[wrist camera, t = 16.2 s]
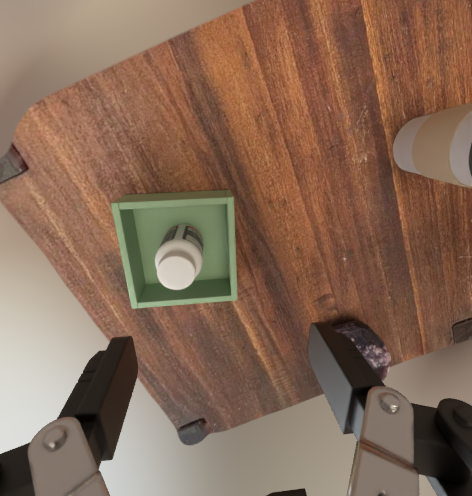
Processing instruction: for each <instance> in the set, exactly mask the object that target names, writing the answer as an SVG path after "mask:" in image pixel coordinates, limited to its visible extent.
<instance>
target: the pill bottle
mask: <svg viewBox="0 0 472 496" xmlns="http://www.w3.org/2000/svg"><path fill="white" fill-rule="evenodd" d="M155 265H156V269H157V276H158V279H159V281H160V282H161V283H162V284H163V285H164V286H165V287H167V288H169V289H173V290H180V289H184V288H186V287H188V286H189V285H190V284H191V283H192V282H193V280H194V278H195V277H196V276H197V275H198V274H199V272H200V271H201V268H202V265H203V238H202V235H201V233H200V232H199V231H198V230H197V229H196V228H195V227H193V226H191V225H187V224H179V225H175V226H173V227H172V228H170V229H169V230H168V231H167V233H166V234H165V236H164V238H163V240H162V243H161V245H160V247H159V249H158V251H157V253H156V257H155Z"/></svg>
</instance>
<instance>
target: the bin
mask: <svg viewBox="0 0 472 496" xmlns="http://www.w3.org/2000/svg"><path fill="white" fill-rule="evenodd" d="M111 207H112V212H113V217H114V222H115V227H116V232H117V237H118V242H119V247H120V252H121V257H122V262H123V267H124V272H125V277H126V281H127V286H128V291H129V296H130V301H131V306H132V308H145V307H158V306H170V305H183V304H196V303H208V302H221V301H231V300H232V301H234V300H238V299H237V270H236V242H235V213H234V197H233V194H232V192H231V190H212V191H191V192H170V193H148V194H127V195H124V196H122V197H121V198H119V199H117V200H116V201H114V202H112V203H111ZM179 224H187V225H191V226H193V227H195V228H196V229H197V230H198V231H199V232H200V233H201V235H202V238H203V265H202V268H201V271H200V272H199V274H198V275H197V276H196V277H195V278H194V280H193V282H192V283H191V284H190V285H189V286H188V287H186V288H184V289H180V290H173V289H169V288H167V287H165V286H164V285H163V284H162V283H161V282H160V281H159V279H158V276H157V269H156V265H155V257H156V253H157V251H158V249H159V247H160V245H161V243H162V240H163V238H164V236H165V234H166V233H167V231H168V230H169V229H170V228H172V227H173V226H175V225H179Z"/></svg>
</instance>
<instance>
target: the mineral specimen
mask: <svg viewBox="0 0 472 496" xmlns="http://www.w3.org/2000/svg"><path fill="white" fill-rule="evenodd" d="M333 329H334V330H335V332H336V333H337V332H342V333H343V334H344V335H346V336H347V337H349V338H350V339H351V340H352V341H353V343H354V344H355V345H356V347H357V348H358V350H359V351H360V352H361V353H362V355H363V357H364V358H365V359H366V360H367V362H368V363H369V364H370V366H371V367H372V368H373V370H374V371H375V372H376V374H377V375H378V377H379V378H380V379H381V381H382V382H383V381H384V379H385V377H386V375H387V374H388V372H389V370H390V362H391V356H390V353H389V352H388V351H387V349H386V347H385V344H384V342H383V341H382V340H381V338H380V337H379V336H378V335H377V334H376V333H375V332H374V331H373V330H372V329H371V328H370V327H369V326H368V325H366V324H364V323H362V322H359V321H351V322H347V323H344V324H340V325H337V326H333Z"/></svg>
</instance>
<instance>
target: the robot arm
mask: <svg viewBox="0 0 472 496" xmlns="http://www.w3.org/2000/svg"><path fill="white" fill-rule="evenodd" d="M308 358H309V361H310V364H311V366H312V368H313V371H314V373H315V375H316V377H317V379H318V381H319V383H320V385H321V388H322V390H323V392H324V394H325V396H326V398H327V400H328V403H329V405H330V407H331V409H332V411H333V413H334V415H335V418H336V420H337V422H338V424H339V426H340V428H341V430H342V432H343V434H349V433H354V435H355V437H356V439H357V444H356V449H355V454H354V459H353V465H352V470H351V475H350V481H349V486H348V491H347V496H419V474H421V475H425V476H426V477H427V479H428V481H429V482H430V484H431V486H432V487H433V489H434V491H435V492H436V494H437V496H472V406H471V405H469V404H467V403H465V402H463V401H460V400H457V399H451V398H448V399H443V400H441V401H440V402H439V405H438V407H437V408H433V407H428V406H422V405H417V404H413V403H410V402H409V401H408V400H407V399H406V397H404V396H403V395H402V394H401V393H399V392H398V391H396V390H394V389H392V388H389V387H386V386H385V385H384V383H383V382H382V381H381V379H380V378H379V377H378V375H377V374H376V372H375V371H374V370H373V368H372V367H371V366H370V364H369V363H368V362H367V360H366V359H365V358H364V357H363V355H362V353H361V352H360V351H359V350H358V348H357V347H356V345H355V344H354V343H353V341H352V340H351V339H350V338H349V337H347V336H346V335H344V334H343V333H342V332H337V333H336V332H335V330H334V329H333V327H332V326H331V324H330V323H329V322H317V323H311V325H310V332H309V342H308ZM137 374H138V363H137V357H136V352H135V347H134V342H133V338H132V336H126V337H113V338H112V339H111V341H110V343H109V345H108V348H107V349H106V350H105V351H99V352H98V353H97V354H95V355H94V356H93V357H92V358H91V359H90V360H89V362H88V363H87V365H86V367H85V369H84V371H83V374H81V376H80V378H79V380H78V383H77V384H76V385H75V387H74V389H73V391H72V393H71V395H70V396H69V398H68V400H67V402H66V404H65V406H64V408H63V409H62V411H61V413H60V415H59V417H58V418H57V420H54V421H53V422H51V423H49V424H47V425H46V426H45V427H43V428H42V429H41V430H40V431H39V432H38V433H37V434H36V435H35V436H34V438H33V439H32V441H31V442H30V443H28V444H25V445H23V446H20V447H18V448H15V449H12V450H10V451H7V452H4V453H2V454H0V496H110V494H109V492H108V489H107V487H106V484H105V482H104V480H103V477H102V475H101V472H100V471H99V470H98V469H99V466H100V463H101V461H105V460H112V459H113V455H114V452H115V449H116V446H117V442H118V439H119V435H120V432H121V429H122V426H123V422H124V419H125V416H126V412H127V409H128V406H129V402H130V399H131V396H132V392H133V389H134V386H135V382H136V379H137ZM267 496H307V495H306V491H305V489H297V490H289V491H282V492H274V493H271V494H269V495H267Z"/></svg>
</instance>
